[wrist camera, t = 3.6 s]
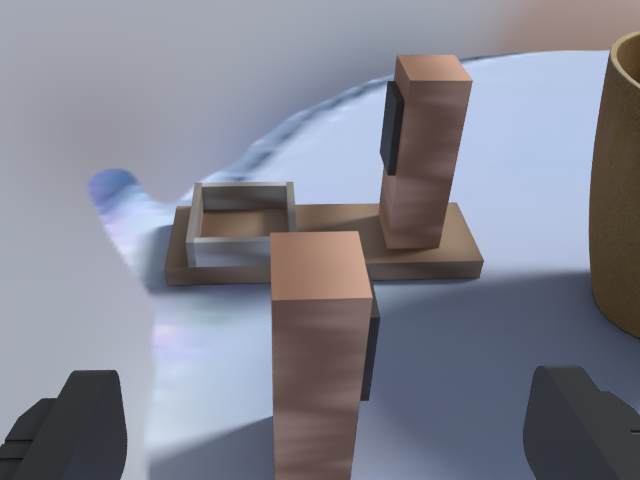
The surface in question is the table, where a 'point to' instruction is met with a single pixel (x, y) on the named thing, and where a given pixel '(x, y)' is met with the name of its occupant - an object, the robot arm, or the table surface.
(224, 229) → the gravestone
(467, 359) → the table surface
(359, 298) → the tall copper pillar
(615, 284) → the plant pot
